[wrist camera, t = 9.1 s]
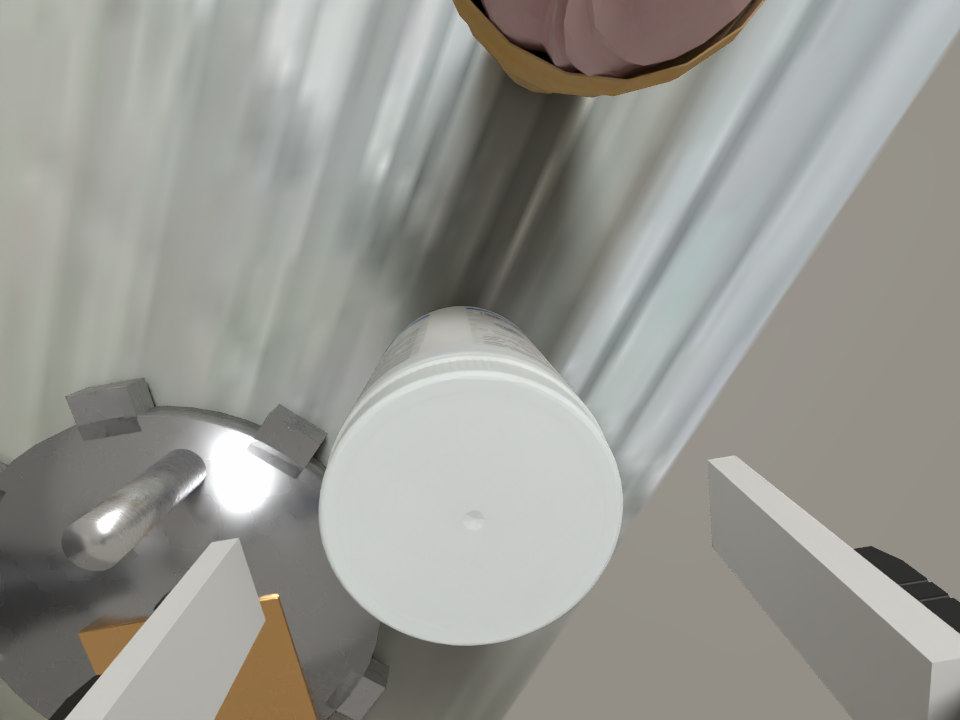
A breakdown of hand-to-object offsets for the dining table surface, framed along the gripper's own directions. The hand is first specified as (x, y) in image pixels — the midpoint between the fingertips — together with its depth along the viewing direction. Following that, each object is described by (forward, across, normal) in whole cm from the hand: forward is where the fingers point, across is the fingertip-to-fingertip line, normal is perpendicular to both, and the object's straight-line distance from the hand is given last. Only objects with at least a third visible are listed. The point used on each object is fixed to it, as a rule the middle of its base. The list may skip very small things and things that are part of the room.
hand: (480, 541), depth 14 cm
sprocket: (+15, -20, -10) cm, 27 cm away
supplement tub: (+16, 0, 0) cm, 16 cm away
